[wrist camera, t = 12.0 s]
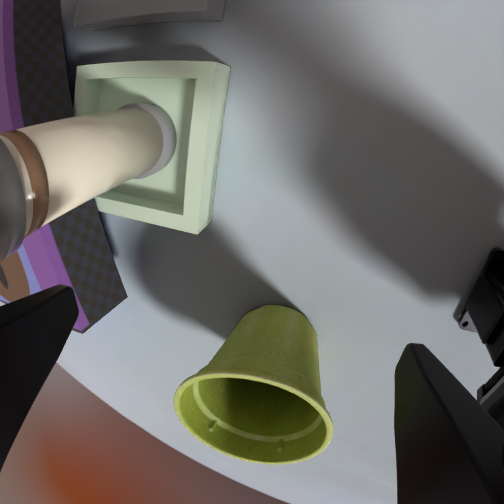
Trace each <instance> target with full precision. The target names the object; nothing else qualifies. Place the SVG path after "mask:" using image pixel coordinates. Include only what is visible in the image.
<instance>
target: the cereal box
mask: <svg viewBox="0 0 504 504" xmlns="http://www.w3.org/2000/svg"><path fill="white" fill-rule="evenodd" d="M70 117H75V116H74V111H73V106H72V100H71V95H70V89H69V82H68V76H67V69H66V61H65V53H64V44H63V35H62V23H61V9H60V0H0V133H1V132H4V131H8V130H17V129H21V128H24V127H29V126H33V125H37V124H41V123H46V122H50V121H55V120H60V119H65V118H70ZM58 284H64V285H67V286H70V287H72V288H73V290H74V293H75V297H76V301H77V304H78V308H79V316H78V319H77V321H76V323H75V325H74V327H73V329H72V330H73V331H76V332H79V333H82V334H83V333H84V332H86V331H87V330H88V329H89V328H90V327H92V326H93V325H94V324H95V323H96V322H98V321H99V320H100V319H101V318H102V317H104V316H105V315H106V314H107V313H109V312H110V311H111V310H112V309H113V308H115V307H116V306H117V305H118V304H120V303H121V302H122V301H123V300H124V299H126V298H127V297H128V296H127V294H126V291H125V289H124V286H123V283H122V281H121V278H120V275H119V273H118V270H117V267H116V264H115V262H114V259H113V256H112V253H111V250H110V247H109V244H108V241H107V238H106V235H105V232H104V229H103V226H102V223H101V219H100V216H99V213H98V209H97V206H96V203H95V199H94V198H92V199H90V200H89V201H87V202H85V203H83V204H81V205H79V206H77V207H75V208H74V209H72V210H70V211H68V212H66V213H64V214H63V215H61V216H59V217H57V218H56V219H54V220H52V221H50V222H49V223H47V224H45V225H43V226H42V227H41V228H40V229H38V230H37V231H36V232H34V233H32V234H31V235H29V236H27V237H26V238H24V240H23V242H22V245H21V246H20V248H19V249H18V250H17V251H16V252H14V253H13V254H11V255H10V256H8V257H7V258H6V259H4V260H3V261H1V262H0V301H1V302H3V303H5V304H8V303H10V302H13V301H16V300H18V299H21V298H23V297H26V296H29V295H31V294H34V293H37V292H39V291H42V290H45V289H47V288H50V287H53V286H55V285H58Z"/></svg>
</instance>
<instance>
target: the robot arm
mask: <svg viewBox="0 0 504 504" xmlns="http://www.w3.org/2000/svg"><path fill="white" fill-rule="evenodd" d="M497 254H499V256H498V257H497V258H495V256H496V255H497ZM78 316H79V308H78V304H77V301H76V297H75V293H74V290H73V288H72V287H70V286H67V285H64V284H58V285H55V286H53V287H50V288H47V289H45V290H42V291H39V292H37V293H34V294H31V295H29V296H26V297H23V298H21V299H18V300H16V301H13V302H10V303H8V304H5V305H3V306H0V472H1V469H2V467H3V464H4V462H5V460H6V457H7V455H8V453H9V451H10V448H11V447H12V444H13V442H14V440H15V438H16V436H17V434H18V432H19V430H20V428H21V426H22V424H23V422H24V420H25V418H26V416H27V414H28V412H29V410H30V408H31V406H32V404H33V402H34V401H35V399H36V397H37V395H38V393H39V391H40V390H41V388H42V386H43V384H44V382H45V380H46V379H47V377H48V375H49V374H50V372H51V370H52V368H53V367H54V365H55V363H56V361H57V360H58V358H59V356H60V354H61V352H62V350H63V347H64V345H65V343H66V341H67V339H68V337H69V335H70V333H71V331H72V329H73V327H74V325H75V323H76V321H77V319H78ZM465 321H467V322H466V323H464V322H465ZM463 323H464V324H463ZM458 324H459V327H460V328H461V329H463V330H468V331H473V332H477V333H478V334H479V337H480V339H481V341H482V343H483V344H485V345H486V347H487V350H488V352H489V354H490V357H491V359H492V361H493V364H494V366H496V367H500V368H499V370H498V371H497V372H496V373H495V374H494V375H493V376H492V377H491V378H490V379H489V380H488V381H487V382H486V384H483V385H482V386H481V387H480V388H479V389H478V390H477V400H476V399H475V398H474V397H473V396H472V395H471V394H470V393H469V392H468V390H467V389H466V388H465V387H464V386H463V385H462V384H461V383H460V382H459V381H458V380H457V379H456V378H455V377H454V375H453V374H452V373H451V372H450V371H449V370H448V369H447V368H446V367H445V366H444V365H443V364H442V363H441V362H440V361H439V360H438V359H437V358H436V357H435V356H434V355H433V354H432V353H431V351H430V350H429V349H428V348H427V347H426V346H425V345H423V344H417V343H409V344H407V345H406V347H405V349H404V351H403V353H402V355H401V357H400V360H399V362H398V364H397V366H396V369H395V411H394V431H395V446H396V465H397V504H504V250H503V249H500V248H494V249H493V250H492V251H491V253H490V256H489V258H488V260H487V263H486V265H485V267H484V270H483V272H482V274H481V276H480V277H479V279H478V281H477V283H476V285H475V287H474V289H473V291H472V293H471V295H470V297H469V299H468V301H467V303H466V307H465V309H464V311H463V313H462V315H461V317H460V318H459V321H458Z"/></svg>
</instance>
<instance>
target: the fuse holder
mask: <svg viewBox="0 0 504 504" xmlns="http://www.w3.org/2000/svg"><path fill="white" fill-rule="evenodd" d="M225 1H226V0H77V3H76V8H75V13H74V19H73V24H72V27H75V28H82V29H89V30H100V29H106V28H113V27H120V26H128V25H137V24H147V23H159V22H176V21H222V18H223V12H224V7H225Z"/></svg>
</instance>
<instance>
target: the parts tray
mask: <svg viewBox="0 0 504 504" xmlns="http://www.w3.org/2000/svg"><path fill="white" fill-rule="evenodd" d="M230 69H231V67H230V66H227V65H224V64H221V63H218V62H208V61H176V60H161V61H129V62H113V63H101V64H91V65H82V66H77V73H76V83H75V96H74V116H75V117H76V116H82V115H87V114H94V113H100V112H107V111H114V110H118V109H119V108H121V107H122V106H125V105H127V104H132V103H144V102H147V103H153V104H156V105H158V106H160V107H161V108H163V109H164V110H165V111H166V112H167V113H168V114H169V116H170V117H171V119H172V121H173V123H174V125H175V129H176V134H177V144H176V149H175V153H174V155H173V157H172V159H171V161H170V162H169V163H168V165H167V166H166V167H165V168H163V169H162V170H160V171H159V172H157V173H155V174H153V175H150V176H148V177H146V178H142V179H131V180H128V181H126V182H124V183H122V184H120V185H118V186H116V187H114V188H112V189H110V190H108V191H106V192H104V193H102V194H100V195H98V196H96V197H94V199H95V203H96V206H97V209H98V211H101V212H105V213H109V214H113V215H118V216H122V217H126V218H130V219H134V220H138V221H143V222H147V223H151V224H155V225H159V226H163V227H168V228H172V229H176V230H180V231H184V232H188V233H193V234H197V235H198V234H199V233H200V232H201V231H202V230H203V229H204V228H205V227H206V226H207V225H208V224H209V223H210V222H211V221H212V213H213V203H214V194H215V185H216V176H217V167H218V158H219V150H220V142H221V134H222V126H223V118H224V111H225V104H226V96H227V89H228V82H229V75H230Z"/></svg>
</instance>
